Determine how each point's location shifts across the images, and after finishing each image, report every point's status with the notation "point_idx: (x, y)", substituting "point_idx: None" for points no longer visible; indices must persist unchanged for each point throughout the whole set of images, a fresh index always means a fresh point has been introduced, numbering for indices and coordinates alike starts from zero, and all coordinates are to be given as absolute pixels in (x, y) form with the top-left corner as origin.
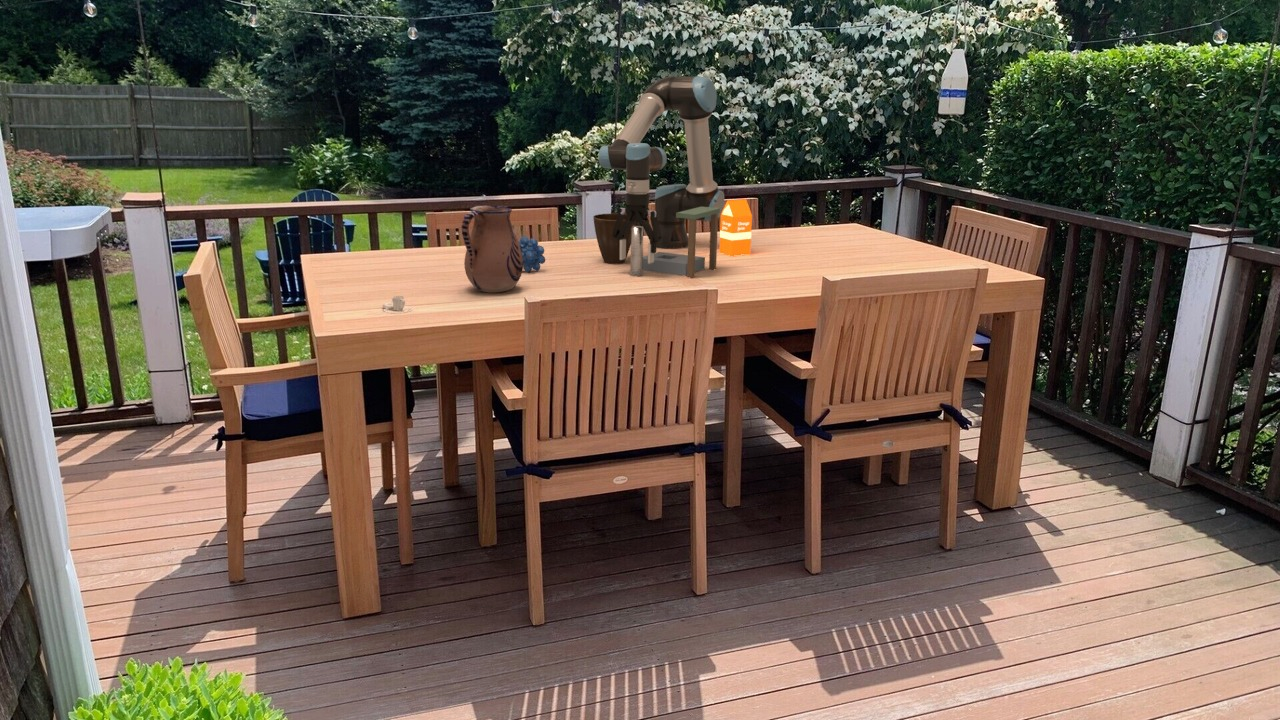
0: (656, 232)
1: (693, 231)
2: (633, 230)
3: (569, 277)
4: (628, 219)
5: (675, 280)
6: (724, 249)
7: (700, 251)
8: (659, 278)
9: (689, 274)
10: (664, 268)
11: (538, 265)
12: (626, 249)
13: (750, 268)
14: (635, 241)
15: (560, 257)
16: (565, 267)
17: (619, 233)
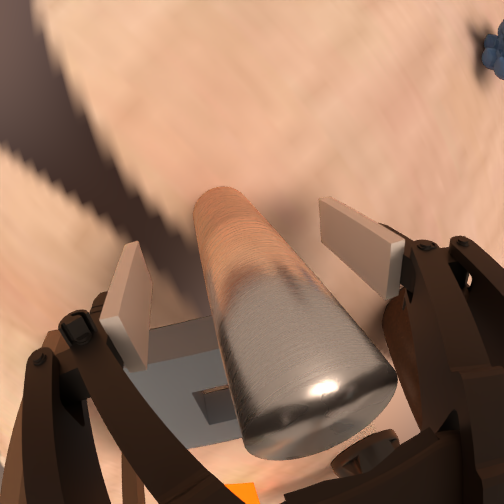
0: (23, 415)
1: (2, 485)
2: (320, 340)
3: (390, 15)
4: (484, 412)
5: (43, 266)
6: (240, 492)
7: (291, 470)
8: (104, 245)
9: (52, 338)
10: (170, 337)
11: (490, 53)
12: (396, 349)
13: (99, 462)
14: (247, 273)
15: (500, 239)
16: (470, 148)
17: (445, 265)
